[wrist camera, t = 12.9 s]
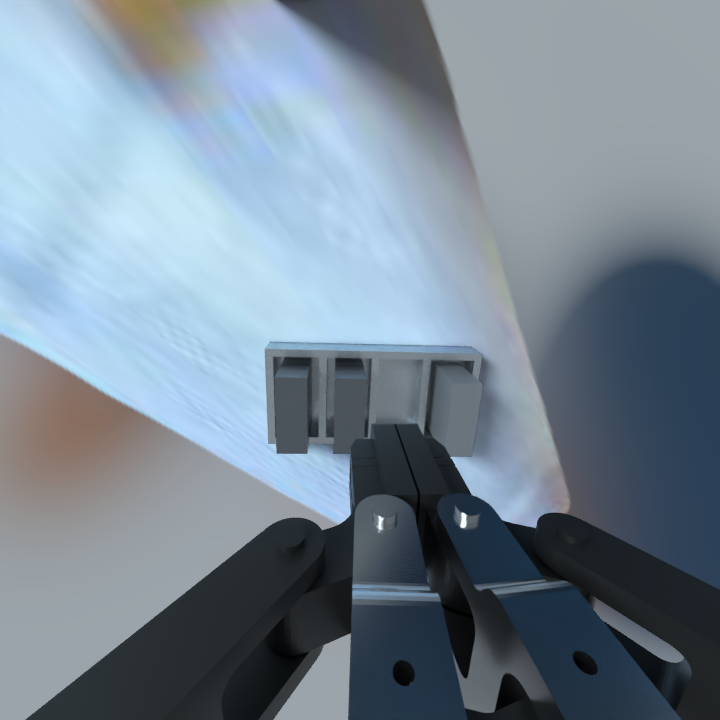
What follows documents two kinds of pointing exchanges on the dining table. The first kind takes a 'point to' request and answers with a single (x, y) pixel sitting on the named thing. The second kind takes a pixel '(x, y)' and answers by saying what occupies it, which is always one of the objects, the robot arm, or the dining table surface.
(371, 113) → the dining table surface
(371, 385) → the rack
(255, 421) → the dining table surface
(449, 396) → the grey block
